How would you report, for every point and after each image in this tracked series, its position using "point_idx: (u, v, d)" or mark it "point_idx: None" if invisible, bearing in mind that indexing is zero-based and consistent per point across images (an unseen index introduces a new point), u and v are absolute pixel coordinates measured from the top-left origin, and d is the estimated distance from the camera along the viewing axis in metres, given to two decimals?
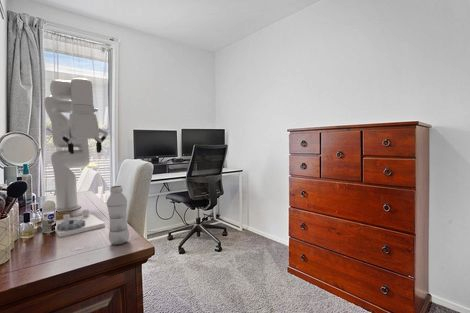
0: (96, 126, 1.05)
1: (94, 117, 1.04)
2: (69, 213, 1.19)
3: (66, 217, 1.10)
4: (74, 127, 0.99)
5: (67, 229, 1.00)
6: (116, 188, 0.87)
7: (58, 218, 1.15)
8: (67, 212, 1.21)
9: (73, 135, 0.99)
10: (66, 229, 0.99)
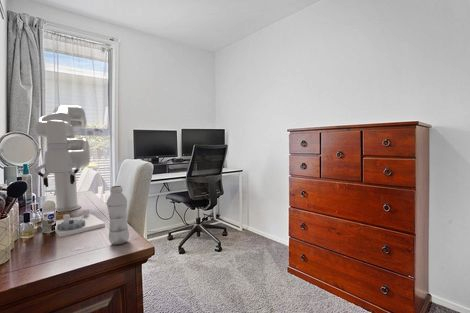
0: (69, 161, 1.18)
1: (67, 153, 1.18)
2: (69, 213, 1.19)
3: (66, 217, 1.10)
4: (49, 164, 1.13)
5: (67, 229, 1.00)
6: (116, 188, 0.87)
7: (58, 218, 1.15)
8: (67, 212, 1.21)
9: (47, 170, 1.13)
10: (66, 229, 0.99)
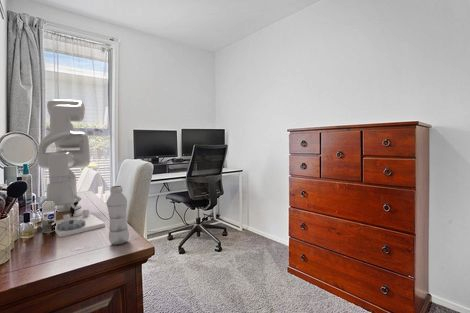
0: (71, 193, 1.19)
1: (70, 185, 1.19)
2: (69, 213, 1.19)
3: (66, 217, 1.10)
4: (51, 197, 1.14)
5: (67, 229, 1.00)
6: (116, 188, 0.87)
7: (58, 218, 1.15)
8: (67, 212, 1.20)
9: None
10: (66, 229, 0.99)
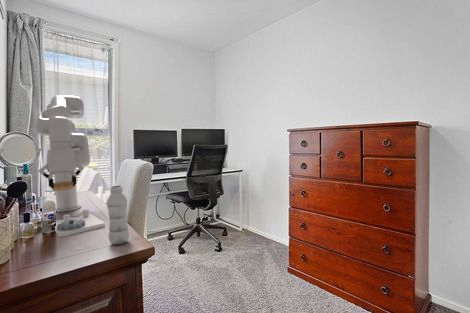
0: (73, 160, 1.12)
1: (71, 152, 1.12)
2: (70, 181, 1.11)
3: (66, 217, 1.10)
4: (51, 163, 1.07)
5: (67, 229, 1.00)
6: (116, 188, 0.87)
7: (59, 186, 1.08)
8: (68, 181, 1.13)
9: (50, 170, 1.07)
10: (66, 229, 0.99)
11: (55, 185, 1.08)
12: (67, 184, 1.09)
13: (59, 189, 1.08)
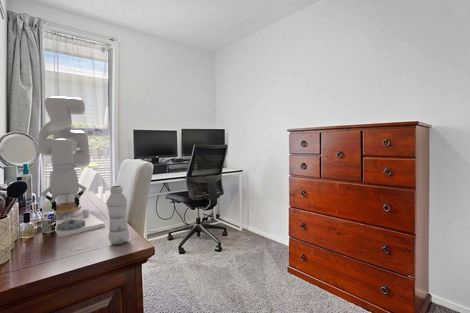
0: (76, 182, 1.11)
1: (74, 174, 1.10)
2: (74, 203, 1.10)
3: (66, 217, 1.10)
4: (54, 186, 1.05)
5: (67, 229, 1.00)
6: (116, 188, 0.87)
7: (62, 208, 1.07)
8: (71, 202, 1.12)
9: (53, 193, 1.05)
10: (66, 229, 0.99)
11: (58, 208, 1.07)
12: (70, 206, 1.08)
13: (62, 212, 1.07)
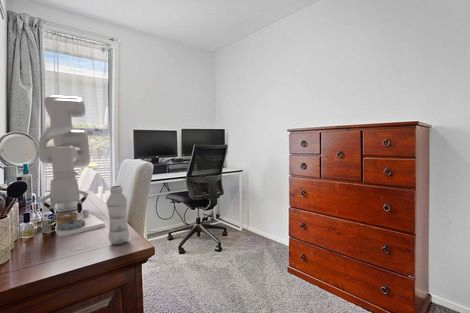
0: (76, 189, 1.11)
1: (75, 181, 1.11)
2: (74, 214, 1.11)
3: None
4: (55, 194, 1.06)
5: (67, 229, 1.00)
6: (116, 188, 0.87)
7: (63, 220, 1.07)
8: (72, 213, 1.12)
9: (54, 201, 1.06)
10: (66, 229, 0.99)
11: (59, 219, 1.07)
12: (71, 218, 1.09)
13: None
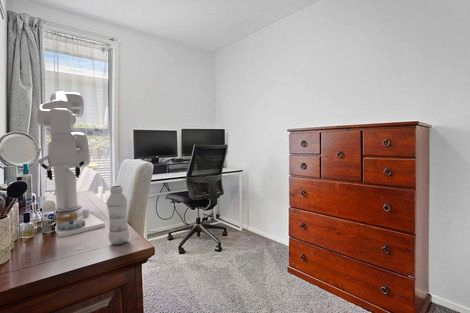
0: (74, 152, 1.11)
1: (73, 144, 1.10)
2: (74, 214, 1.11)
3: None
4: (53, 155, 1.05)
5: (67, 229, 1.00)
6: (116, 188, 0.87)
7: (63, 220, 1.07)
8: (72, 213, 1.12)
9: (51, 162, 1.05)
10: (66, 229, 0.99)
11: (59, 219, 1.07)
12: (71, 218, 1.09)
13: None
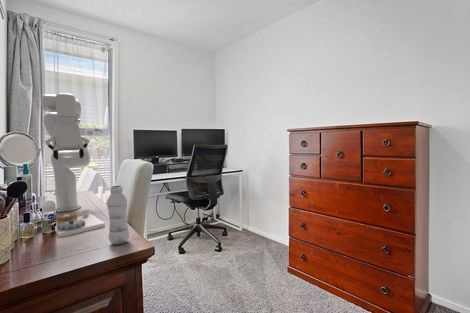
0: (78, 135, 1.19)
1: (77, 127, 1.18)
2: (74, 214, 1.11)
3: None
4: (59, 136, 1.13)
5: (67, 229, 1.00)
6: (116, 188, 0.87)
7: (63, 220, 1.07)
8: (72, 213, 1.12)
9: (57, 143, 1.13)
10: (66, 229, 0.99)
11: (59, 219, 1.07)
12: (71, 218, 1.09)
13: None
